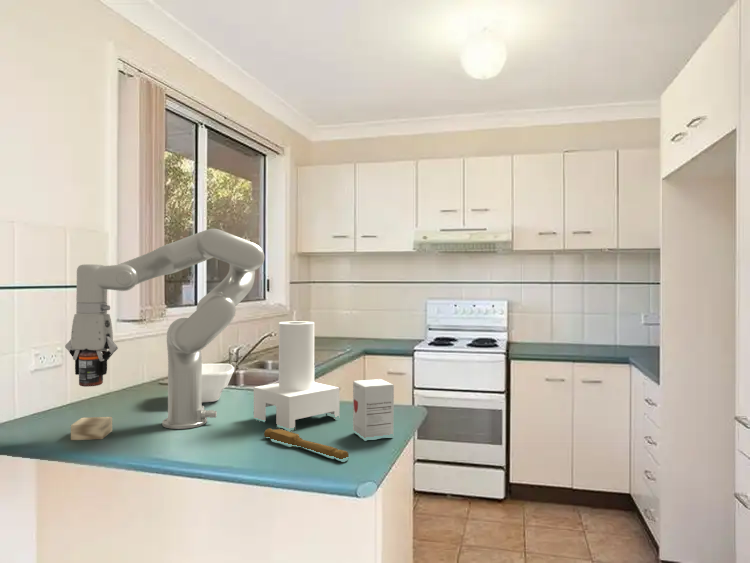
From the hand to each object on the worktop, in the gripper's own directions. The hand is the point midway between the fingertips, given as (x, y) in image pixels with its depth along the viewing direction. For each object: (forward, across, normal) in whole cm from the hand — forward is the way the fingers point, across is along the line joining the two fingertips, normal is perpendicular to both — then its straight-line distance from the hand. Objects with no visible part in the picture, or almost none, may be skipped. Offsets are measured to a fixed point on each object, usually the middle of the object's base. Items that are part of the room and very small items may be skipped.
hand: (91, 373), depth 152 cm
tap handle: (+17, -61, 0) cm, 63 cm away
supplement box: (+17, -77, -15) cm, 80 cm away
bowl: (+17, -10, -44) cm, 49 cm away
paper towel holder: (+17, -50, -27) cm, 60 cm away
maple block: (+17, 0, 0) cm, 17 cm away
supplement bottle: (+3, 0, 0) cm, 3 cm away
